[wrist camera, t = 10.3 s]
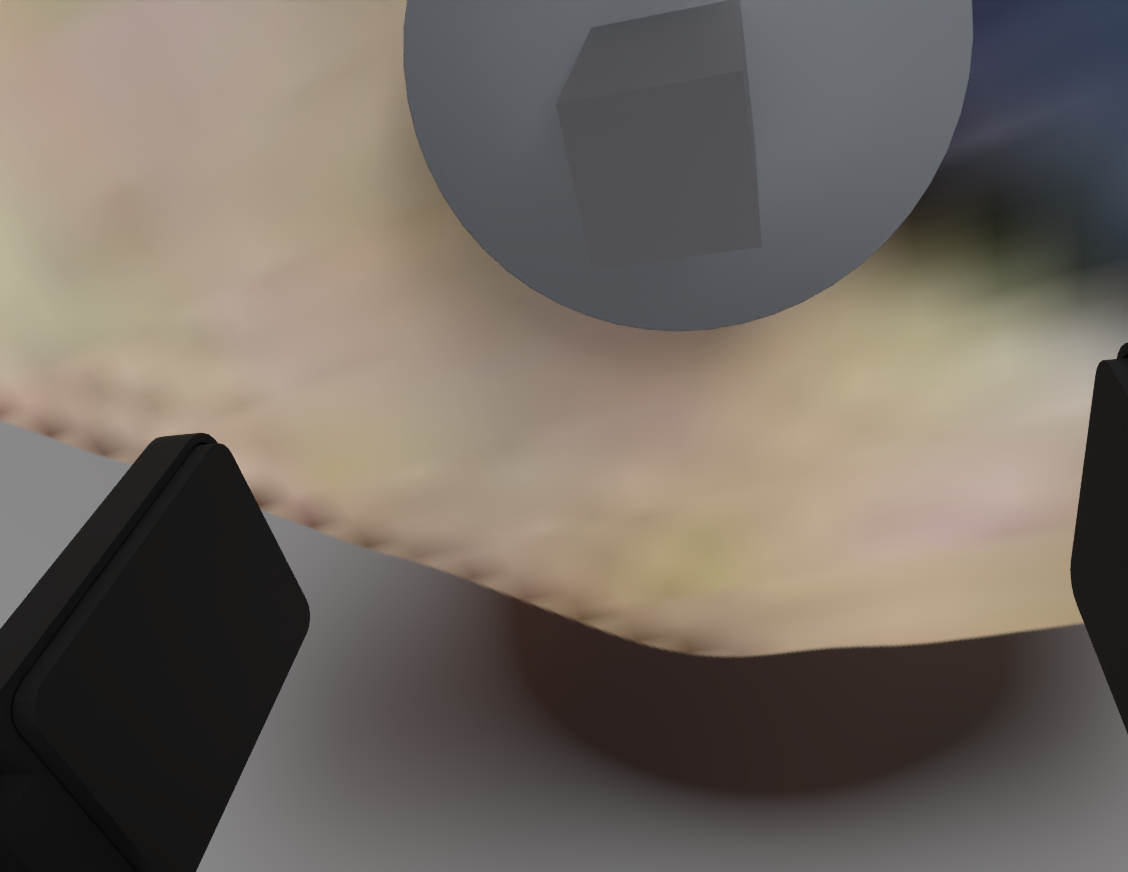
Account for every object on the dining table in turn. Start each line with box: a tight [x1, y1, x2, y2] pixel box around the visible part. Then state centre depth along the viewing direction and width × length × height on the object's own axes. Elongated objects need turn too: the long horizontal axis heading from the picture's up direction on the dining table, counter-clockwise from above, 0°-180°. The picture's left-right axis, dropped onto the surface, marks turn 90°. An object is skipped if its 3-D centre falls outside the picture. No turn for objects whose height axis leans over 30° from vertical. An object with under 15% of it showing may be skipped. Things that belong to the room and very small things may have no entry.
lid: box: [404, 0, 973, 331], centre depth 22 cm, size 14×14×7 cm
